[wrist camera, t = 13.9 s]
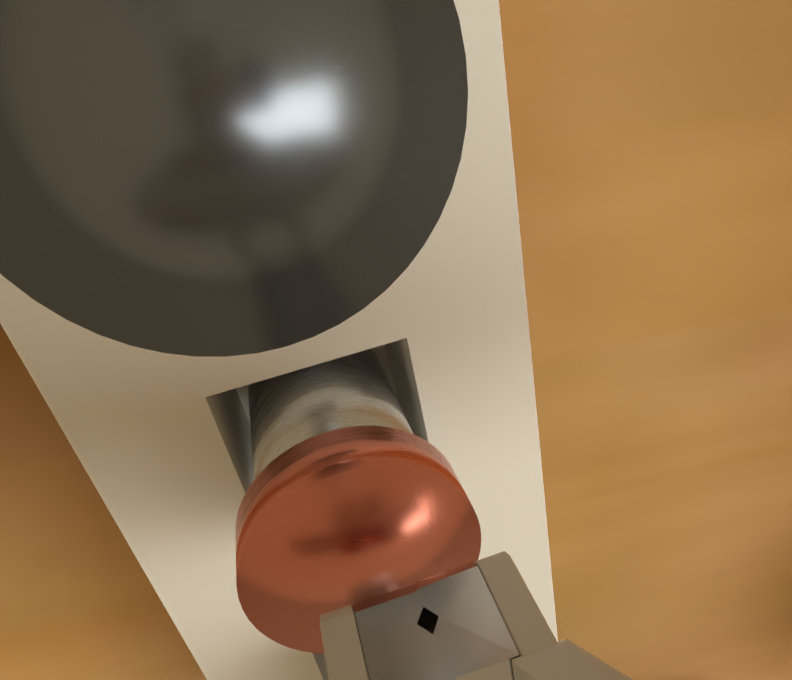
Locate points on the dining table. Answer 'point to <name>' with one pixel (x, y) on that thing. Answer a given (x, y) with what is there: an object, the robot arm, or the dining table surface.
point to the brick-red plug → (340, 500)
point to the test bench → (368, 329)
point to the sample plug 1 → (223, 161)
